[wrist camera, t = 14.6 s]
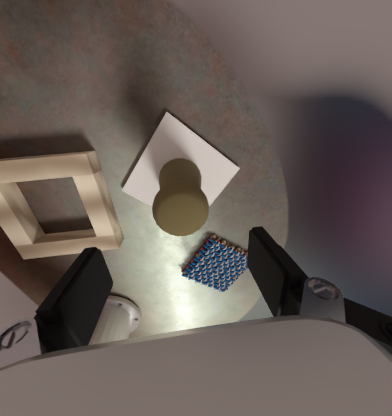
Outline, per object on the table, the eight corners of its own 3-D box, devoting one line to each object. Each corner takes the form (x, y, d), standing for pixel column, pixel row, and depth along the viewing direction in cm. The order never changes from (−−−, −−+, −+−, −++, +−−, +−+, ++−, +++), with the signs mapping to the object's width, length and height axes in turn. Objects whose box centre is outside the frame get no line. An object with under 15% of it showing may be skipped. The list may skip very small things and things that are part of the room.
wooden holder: (123, 238, 28) (118, 248, 26) (36, 248, 28) (23, 259, 25) (95, 150, 22) (85, 153, 20) (-19, 160, 22) (-42, 164, 19)
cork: (150, 170, 23) (129, 204, 13) (190, 150, 23) (198, 169, 13) (171, 206, 26) (167, 256, 16) (208, 188, 25) (226, 229, 15)
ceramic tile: (191, 227, 29) (191, 228, 28) (122, 188, 25) (121, 190, 24) (238, 167, 25) (239, 168, 24) (167, 111, 21) (166, 111, 20)
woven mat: (222, 287, 36) (225, 295, 35) (179, 269, 33) (179, 278, 31) (254, 253, 33) (259, 260, 31) (210, 230, 30) (212, 237, 28)
